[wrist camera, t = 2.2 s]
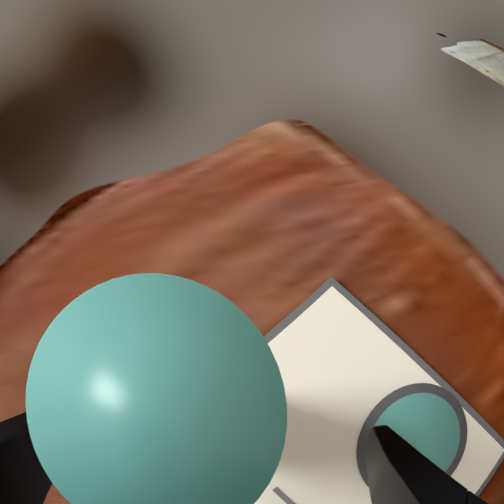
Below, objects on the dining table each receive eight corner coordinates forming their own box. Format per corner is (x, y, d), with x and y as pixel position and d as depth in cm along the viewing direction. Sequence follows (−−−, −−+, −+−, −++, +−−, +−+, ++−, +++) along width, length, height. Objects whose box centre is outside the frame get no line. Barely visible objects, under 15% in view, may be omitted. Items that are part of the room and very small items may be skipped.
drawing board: (507, 447, 11) (512, 446, 11) (302, 635, 5) (303, 639, 5) (330, 279, 19) (331, 274, 19) (105, 456, 14) (100, 456, 13)
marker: (292, 427, 14) (354, 424, 3) (234, 473, 13) (120, 575, 2) (243, 375, 16) (168, 229, 5) (186, 419, 15) (0, 362, 4)
